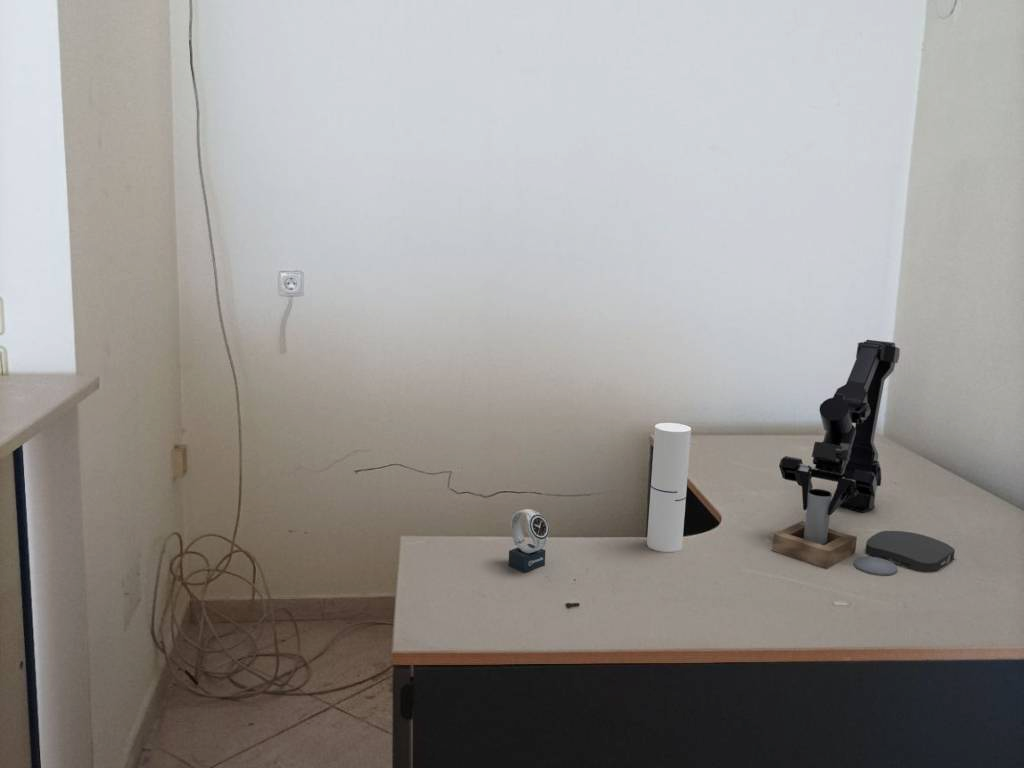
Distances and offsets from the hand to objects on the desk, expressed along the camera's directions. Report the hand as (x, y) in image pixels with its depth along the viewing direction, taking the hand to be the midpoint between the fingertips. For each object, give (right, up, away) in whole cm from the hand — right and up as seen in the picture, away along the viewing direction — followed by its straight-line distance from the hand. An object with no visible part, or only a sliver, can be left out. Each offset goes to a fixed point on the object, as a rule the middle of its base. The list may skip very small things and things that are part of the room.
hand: (816, 511), depth 186 cm
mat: (+10, -10, -4) cm, 15 cm away
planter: (+1, -6, +3) cm, 7 cm away
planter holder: (0, -9, +3) cm, 9 cm away
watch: (-58, -9, -9) cm, 60 cm away
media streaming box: (+20, -10, +3) cm, 22 cm away
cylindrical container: (-30, -8, +4) cm, 31 cm away
